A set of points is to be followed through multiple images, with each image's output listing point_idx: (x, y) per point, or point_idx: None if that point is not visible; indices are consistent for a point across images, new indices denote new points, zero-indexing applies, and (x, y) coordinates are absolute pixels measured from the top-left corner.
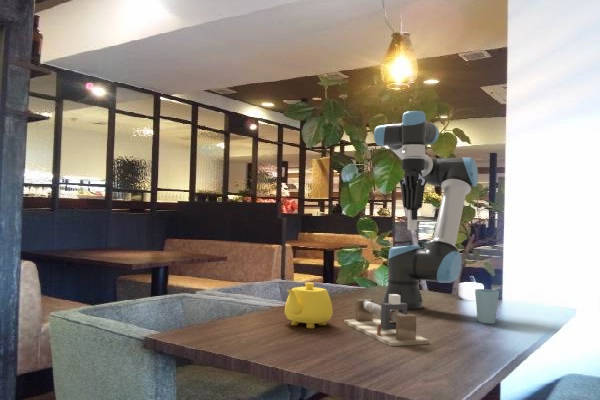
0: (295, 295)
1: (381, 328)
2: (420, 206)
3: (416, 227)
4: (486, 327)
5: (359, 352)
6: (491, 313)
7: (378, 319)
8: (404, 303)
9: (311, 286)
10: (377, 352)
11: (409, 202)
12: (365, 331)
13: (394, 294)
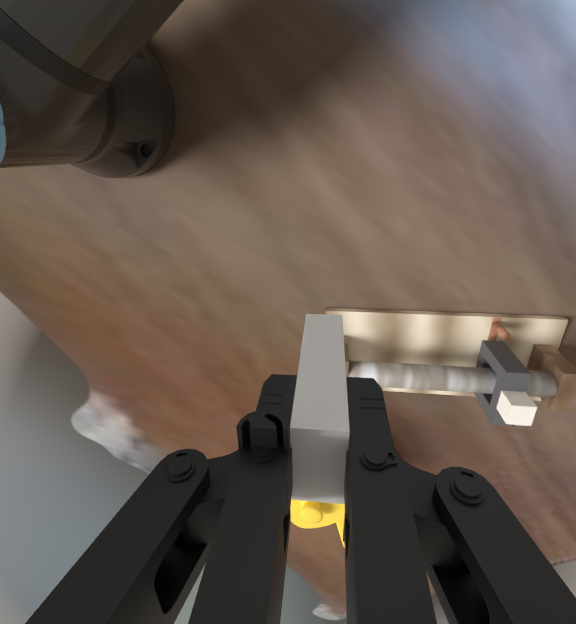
0: None
1: (426, 356)
2: (488, 505)
3: (342, 327)
4: (492, 3)
5: (545, 457)
6: None
7: (336, 314)
8: (520, 376)
9: (321, 510)
10: (561, 434)
11: (281, 586)
12: (429, 392)
13: (516, 413)
